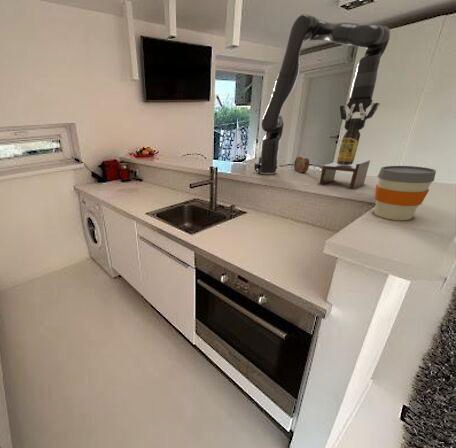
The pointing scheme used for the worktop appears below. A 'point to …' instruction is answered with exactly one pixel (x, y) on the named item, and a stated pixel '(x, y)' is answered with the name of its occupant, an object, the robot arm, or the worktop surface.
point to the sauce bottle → (349, 143)
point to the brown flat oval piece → (301, 164)
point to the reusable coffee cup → (401, 190)
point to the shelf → (357, 169)
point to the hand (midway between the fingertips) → (353, 129)
